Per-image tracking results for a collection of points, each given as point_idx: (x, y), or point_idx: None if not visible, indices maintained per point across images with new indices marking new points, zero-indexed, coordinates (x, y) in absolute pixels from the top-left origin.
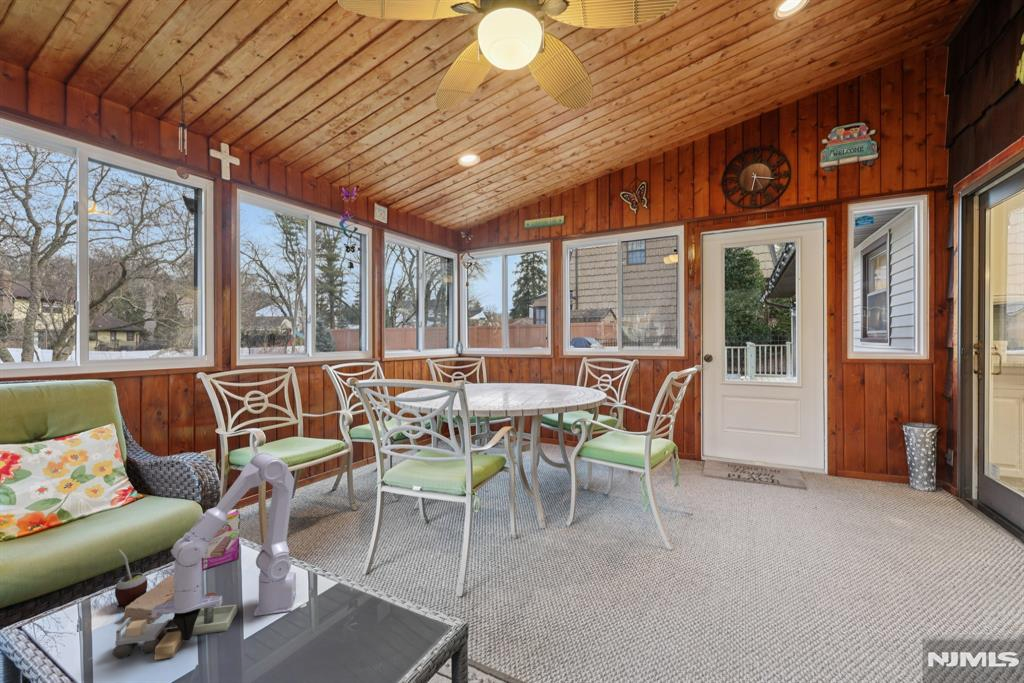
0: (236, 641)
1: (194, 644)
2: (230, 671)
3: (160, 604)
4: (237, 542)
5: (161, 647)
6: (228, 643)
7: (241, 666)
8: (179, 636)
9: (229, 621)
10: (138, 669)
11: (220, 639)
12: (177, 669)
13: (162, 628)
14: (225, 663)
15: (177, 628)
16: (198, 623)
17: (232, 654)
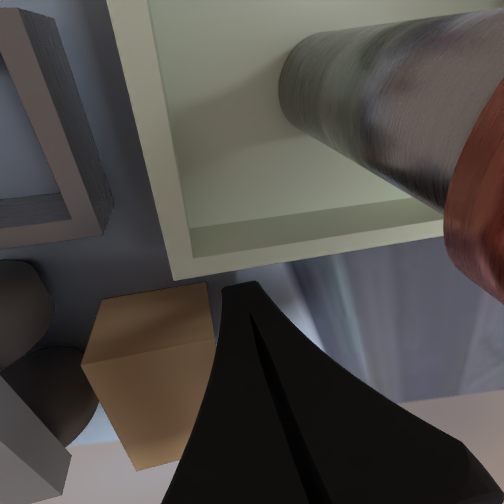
0: (468, 283)
1: (283, 299)
2: (432, 392)
3: None
4: None
5: (172, 459)
6: (437, 294)
7: (461, 377)
8: None
9: None
10: (102, 426)
11: (404, 268)
12: None
13: (4, 400)
14: (421, 373)
15: (87, 232)
16: (229, 101)
17: (444, 343)
